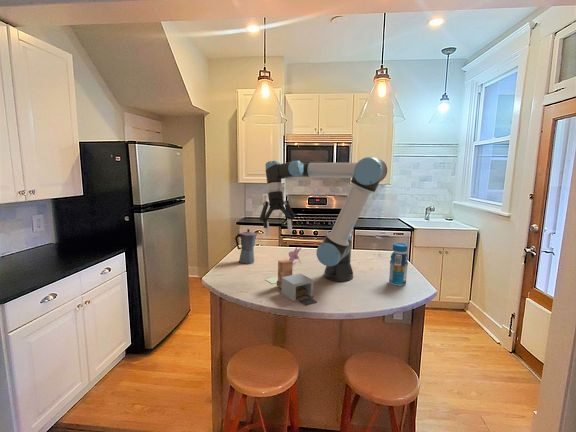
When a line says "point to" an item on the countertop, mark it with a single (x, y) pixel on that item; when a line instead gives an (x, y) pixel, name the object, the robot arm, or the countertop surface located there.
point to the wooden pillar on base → (286, 270)
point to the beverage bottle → (398, 264)
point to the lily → (294, 254)
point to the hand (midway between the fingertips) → (279, 233)
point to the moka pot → (246, 246)
